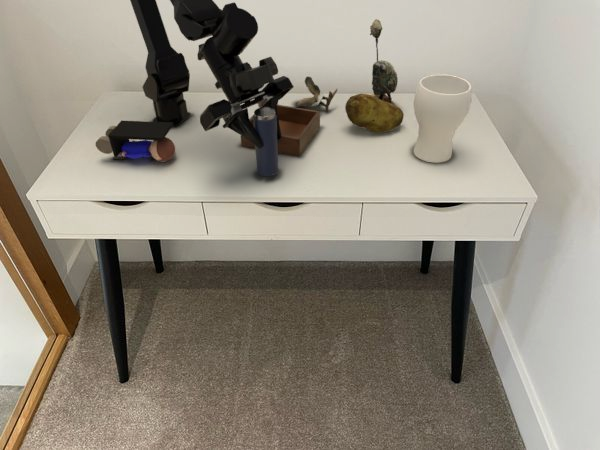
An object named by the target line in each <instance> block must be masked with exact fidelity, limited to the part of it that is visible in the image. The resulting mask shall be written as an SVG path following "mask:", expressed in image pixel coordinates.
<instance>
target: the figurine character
mask: <svg viewBox="0 0 600 450" xmlns="http://www.w3.org/2000/svg"><path fill="white" fill-rule="evenodd" d="M173 127H174V126H173V122H153V121H147V120H146V121H145V120H144V121H143V120H120V121H119V122H118V124H117V125H111V126H109V127H108V128H107V129H106V131H105V135H102V136H100V137H99V138H98V139H97V140H95V147H96V149H97V151H99V152H100V153H102V154H106V155H108V154H113V157H112V159H113V160H125V159H127V158H129V159H132V160H135V159H140V158H143V157H144V158H148V157H152V158H153V159H155V160H156V161H158V162H162V163H163V162H168V161H170V160H171V159H172V158H173V157H174V156H175V153H176V146H175V143H174V141H172V140H171V138H169V137H166V136H167V135H168V134H169V132H170V131H171V129H172V128H173ZM130 140H131V141H130ZM120 155H121V156H120Z"/></svg>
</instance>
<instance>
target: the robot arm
mask: <svg viewBox="0 0 600 450" xmlns="http://www.w3.org/2000/svg"><path fill="white" fill-rule="evenodd" d="M169 1H170V3H171V5H172V6H173V19H174V21H175V24H176V25H177V26H178V29H179V32H180V33H181V34H182V35H183V37H184V38H185V39H186V40H187V41H189V42H190V41H191V42H192V41H193V42H195V41H196V42H197V41H199V40H204V39H205V38H207V39H206V40H205V41H204V43H203V42H202V43H200V44H198V51H197V54H196V55H197V60H198V61H203V60H204V61H205V62H206V64H207V66H208V67H209V69H210V72H211V73H212V74H213V76H214V78H215V80H216V82H215V84H214V86H215V88H216V90H219V89H221V90H222V92H223V93H224V96H225V97H226V99H225V98H224V99H221V100H218V101H216V102H213V103H211V104H209V105H207V106H206V108H205V110H203V112H202V113H201V114H200V115H199V123H200V125H201V127H202V129H203V130H204V132H208V131H210V130H213V129H216V128H218V127H219V125H220V122H221V119H222V120H223V122H224V124H223V125H222V128H223V129H227V128H228V129H229V130H230V131H233V132H235V133H236V134H238V135H240V137H241V136H243V137H244V138H246V139H247V140H248V141H250V142H251V143H253V144H254V145H255V146H257V147H258V148H260V149H261V148H262V147H263V146H264V145H263V143H262V141H261V139H260V137H259V135H258V134H257V132H256V130H255V128H254V127H253V125H252V123H251V122H250V120H249V119H250V115H249V111H248V108H250V107H253V106H255V105H257V106H258V108H262V107H269V108H272V109H274V110H275V114H276V115H277V140H279V139H281V138H282V136H281V130H280V125H279V120H278V113H277V105H279V101H280V100H281V99H283V98H284V97H285V96H286V95H287V94H288V93H289V92H290V91H291V90H293V88H294V84H293V83H292V80H291V79H290V77H287V76H285V75H282V76H279V77H276V78H274V76H275V75H278V74H279V69H278V65H277V63H276V62H275V60H274V59H273V58H272V56H268V57H265V58H263V59H260V60H259V61H258V66H256V67H252V66H251V64H250V63H249V62H248V61H246V62H243V61H242V59H241V57H240V56H239V55H241V54H242V53H243V52H244V50H245V49H246V48H247V47H248V46H249V45H250V43H251V42H252V41H253V39H254V38H255V37H256V35H257V34H258V31H259V23H258V22H257V19H256V17H255V16H254V15H252V14H251V13H250V12H249V11H247V10H246V9H243V8H240V7H238V5H237V3H236V2H229V3H226V4H224V6H223V7H222V9H221V8H220V7H219V6H218V5H217V3H216V2H215V1H214V0H169ZM130 4H131V7H132V10H133V13H134V15H135V18H136V22H137V24H138V27H139V31H140V33H141V36H142V39H143V41H144V44H145V48H146V50H147V55H146V56H147V57H146V62H145V72H146V76H147V77H146V79H145V81H144V83H143V85H142V86H141V88H142V90H143V93H144V95H145V97H146V98H147V99H149V100H151V101H152V104H153V108H154V113H155V117H154V118H153V119H152V120H151V122H173V126H172V127H178V126H180V125H181V124H182V123H183V122H184V121H185V120H187V119H188V118H189V117H190V116H191V112H189V111H188V106H187V101H186V99H185V98H184V93H185V92H189V90H190V77H191V75H190V74H191V73H190V70H189V68H188V65H187V62H186V59H185V55H183V53H182V52H178V51H177V50H176V49H174V48H173V47H172V45H171V43H170V40H169V36H168V33H167V31H166V26H165V24H164V21H163V19H162V16H161V12H160V9H159V6H158V3H157V0H130ZM260 89H261V90H260Z"/></svg>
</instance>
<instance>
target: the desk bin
mask: <svg viewBox="0 0 600 450" xmlns="http://www.w3.org/2000/svg"><path fill="white" fill-rule="evenodd" d="M277 113H278V120H279V125H280V130H281V136H282V138H281V139H279V140H277V145H278V154H283V155H284V154H285V155H289V156H293V157H294V156H295V157H301V156H302V154H303V153H304V152H305V150H306V149H307V147H308V145H309V144H310V143H311V141H312V140H313V139H314V137H315V135H316V134H317V133H318V132H319V130H320V128H321V110H320V111H319V110H315V109H308V108H301V107H296V106H288V105H282V104H278V105H277ZM253 116H254V114H253V115H252V116H251V117H249V120H250V122H251V123H252V125H253V127H254V121H253ZM240 143H241V146H242V147H246V148H253V149H255V145H254V144H253V143H251V142H250V141H248V140H247V139H246V138H244V137H243V136H241V135H240Z"/></svg>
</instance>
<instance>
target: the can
mask: <svg viewBox="0 0 600 450" xmlns="http://www.w3.org/2000/svg"><path fill="white" fill-rule="evenodd" d="M253 115H254V116H253ZM253 115H252V116H253V121H254V128H255V130H256V132H257V134H258V135H259V137H260V139H261V141H262V143H263V145H264V146H263V147H262V148H261V149H260V148H258V147H257V146H255V148H254V150H255V151H254V152H255V166H256V167H255V168H256V173H257V174H258V175H259V176H262V177H272V176H275V175H276V174H278V172H279V155H278V154H279V153H278V145H277V115H276V114H275V110H274V109H272V108H269V107H262V108H259V107H258V108H256V109H254V111H253Z"/></svg>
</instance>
